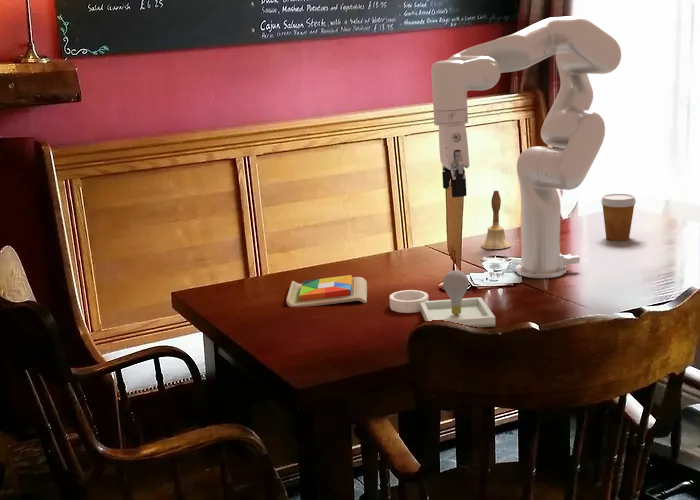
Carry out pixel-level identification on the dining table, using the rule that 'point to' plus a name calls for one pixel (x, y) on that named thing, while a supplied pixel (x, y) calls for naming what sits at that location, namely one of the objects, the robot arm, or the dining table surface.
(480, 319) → the tray
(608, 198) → the disposable coffee cup
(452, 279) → the light bulb
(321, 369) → the dining table surface
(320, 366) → the dining table surface
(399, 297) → the holder ring
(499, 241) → the hand bell
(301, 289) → the wooden puzzle
